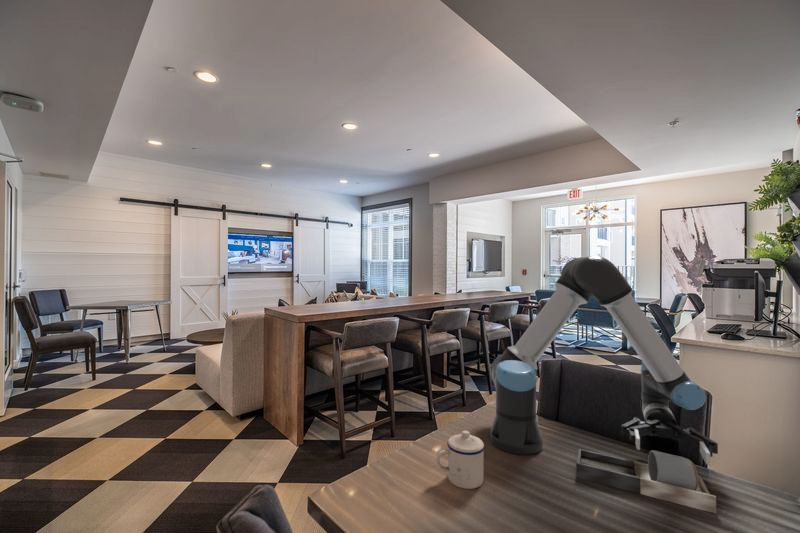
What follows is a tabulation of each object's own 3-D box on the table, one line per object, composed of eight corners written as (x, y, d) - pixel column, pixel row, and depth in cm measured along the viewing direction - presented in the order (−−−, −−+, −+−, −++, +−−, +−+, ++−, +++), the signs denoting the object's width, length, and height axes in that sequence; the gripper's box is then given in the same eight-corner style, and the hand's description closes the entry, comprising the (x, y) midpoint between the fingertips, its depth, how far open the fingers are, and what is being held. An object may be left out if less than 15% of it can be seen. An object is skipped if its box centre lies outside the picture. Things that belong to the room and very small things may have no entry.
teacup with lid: (477, 468, 92) (477, 423, 92) (489, 489, 83) (489, 439, 83) (432, 470, 90) (432, 425, 91) (440, 492, 81) (440, 441, 82)
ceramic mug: (700, 501, 78) (701, 468, 78) (656, 493, 81) (657, 461, 80) (680, 471, 88) (681, 442, 88) (642, 465, 91) (643, 437, 90)
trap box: (576, 477, 88) (576, 463, 88) (578, 454, 99) (578, 441, 99) (716, 513, 75) (716, 497, 75) (700, 482, 86) (700, 467, 86)
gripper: (715, 443, 97) (741, 482, 79) (611, 423, 110) (612, 453, 91) (715, 416, 97) (740, 448, 79) (610, 399, 110) (611, 424, 92)
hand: (671, 451), depth 85 cm, fingers open, 13 cm apart
